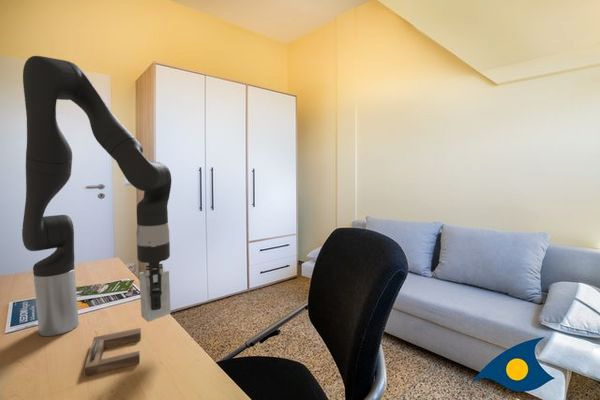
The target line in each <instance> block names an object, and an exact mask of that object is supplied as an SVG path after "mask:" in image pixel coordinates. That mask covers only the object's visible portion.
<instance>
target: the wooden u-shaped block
mask: <svg viewBox="0 0 600 400" xmlns="http://www.w3.org/2000/svg"><path fill="white" fill-rule="evenodd" d="M141 336H142V332H141V327H139V328H134V329H133V328H132V329H127V330H123V331H118V332H113V333H112V332H111V333H107V334H103V335H97V336H94V337H93V339H92V343H91V346H90V349H89V352H88V356H87V357H86V362H85V365H84V369H83V370H84V377H88V376H92V375H96V374H99V373H104V372H107V371H112V370H116V369H120V368H125V367H129V366H132V365H136V364H140V362H141V361H140V360H141V355H140V350H137V351H132V352H129V353H128V352H127V353H123V354H120V355H115V356H110V357H107V358H103V355H104V349H105V348H109V347H110V348H111V347H114V346H118V345H123V344H129V343H132V342H137V341H141V340H142V337H141Z"/></svg>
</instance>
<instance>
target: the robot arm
mask: <svg viewBox="0 0 600 400" xmlns="http://www.w3.org/2000/svg"><path fill="white" fill-rule="evenodd" d="M22 84H23V95H24V105H25V113H26V150H25V202H24V203H25V205H24V210H23V221H22V227H21V228H22V230H21V236H22V242H23V243H22V244H23V246H24V248H25V249H26V250H27V251H30V252H39V251H40V252H41V251H45V250H50V249H55V250H54V251H53V252H52V253H51V254H50V255H49V256H47V257H45V258H43V259H40V260H38V261H37V262H35V263H34V264H33V267H32V274H33V282H34V292H35V293H34V294H35V301H36V302H35V304H36V317H37V325H38V326H37V328H38V334H39V335H40V336H42V337H53V336H58V335H61V334H65V333H68V332H70V331H72V330H73V329H75V328H77V327H78V326H79V323H80V321H79V311H78V310H79V309H78V308H79V307H78V296H77V295H78V293H77V283H76V282H77V281H76V269H75V228H74V223H73V221H72V218H71V217H70V216H68V214H57V215H47V216H45V215H44V214H45V211H46V209H47V207H48V205H49V203H50V202H51V201H52V200H53V199H54V197H56V195H57V194H58V193H59V192H60V191H61V190H62V189H64V186H66V184H67V183H68V182H69V180H70V178H71V176H72V166H73V165H72V164H73V152H72V148H71V145H70V143H69V142H68V140H67V139H66V137H65V136H64V134H63V132H62V131H61V128H60V126H59V124H58V121H57V103H58V102H57V100H58V101H59V100H60V101H71V102H72V103H74V104H75V105H77V106H78V107H79V108H80V109H81V110H82V111H83V112H84V113H85V115H86V116H87V119H88V120H89V126H90V130H91V132H92V135H93V136H94V138H95V140H96V141H97V143H98V144H99V146H101V147H102V148H103V150H105V151H106V153H108V155H110V157H111V158H113V160H114V161H115V162H116V163H117V165H118V167H119V169H120V171H121V172H122V175H123V176H124V177H125V179H126V180H127V181H128V183H129V184H131V186H133V187H134V188H135V189H137V190H139V191H142V192H143V198H142V199H141V200H140V201H139V202H138V203H137V206H136V257H137V260H138V262H140V263H143V264H146V263H147V264H148V265H145V271H146V275H150V276H149V278H150V280H149V281H148V287H150V297H151V310H158V309H160V308H161V294H162V291H161V285H162V284H163V278H162V273H163V268H164V266H163V265H164V264H163V263H161V262H164V261H166V260H168V259H169V258H170V256H171V245H170V244H171V243H170V240H171V239H170V228H169V218H168V217H169V213H168V212H169V211H168V204H169V199H170V194H171V189H172V188H171V187H172V174H171V171H170V169H169V167H168V166H167V165H166V164H165V163H164V162H160V161H149V159H147V158H146V157H145V156H144V154H143V152H144V151H143V150H144V149H143V145H142V144H141V143H140V142H139V141H138V139H136V137H135V136H133V134H132V133H131V132H130V131H129V130H128V129H127V128H126V127H125V126H124V125H123V124H122V122H120V120H119V119H118V118H117V117H116V116H115V115H114V113H113V112H112V110H111V109H110V107H109V106H108V105H107V104H106V102H105V101H104V99H103V98H102V96H101V94H99V91H97V89H96V87H95V86H94V85H93V84H92V82H91V81H90V79H89V78H88V76H87V75H86V73H85V72H84V71H83V70H82V69H81V68H80V67H79V66H78V65H76V64H75V63H74V62H71V61H69V60H65V59H59V58H53V57H48V56H41V55H31V56H30V57H28V58H27V60H26V61H25V63H24V65H23V70H22ZM154 288H159V290H158V291H152V289H154Z"/></svg>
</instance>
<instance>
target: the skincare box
mask: <svg viewBox="0 0 600 400" xmlns="http://www.w3.org/2000/svg"><path fill="white" fill-rule="evenodd" d="M138 275H139V276H138V279H139V281H138V283H139V296H140V297H139V298H140V311H141V312H140V313H141V315H140V316H141V318H142V319H144V320H145V321H146V322H148V323H149V322H153V321H155V320H157V319H160V318H163V317H165V316H168V315H171V291H170V288H171V287H170V271H169V270H168V269H167V268H166V269H165V268H164V267H163V273H162V278H163V284H162V285H161V291H162V294H161V308H160V309H158V310H151V297H150V287H148V281H149V280H150V278H149V276H150V275H146V270H145V271H141V272H139V273H138ZM158 290H159V288H154V289H152V291H158Z"/></svg>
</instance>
